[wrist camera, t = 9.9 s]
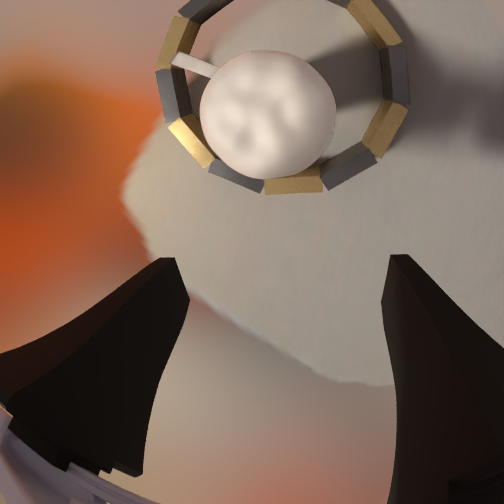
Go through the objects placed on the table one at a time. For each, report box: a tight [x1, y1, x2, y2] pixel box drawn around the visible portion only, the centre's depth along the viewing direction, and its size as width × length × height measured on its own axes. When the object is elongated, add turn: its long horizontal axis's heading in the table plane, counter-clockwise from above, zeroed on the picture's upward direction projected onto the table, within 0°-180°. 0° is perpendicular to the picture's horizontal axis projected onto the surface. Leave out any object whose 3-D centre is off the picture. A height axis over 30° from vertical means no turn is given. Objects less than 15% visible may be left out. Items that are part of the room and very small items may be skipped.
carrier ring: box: [155, 0, 410, 195], centre depth 13 cm, size 14×14×2 cm
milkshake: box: [169, 51, 336, 179], centre depth 11 cm, size 4×5×10 cm
